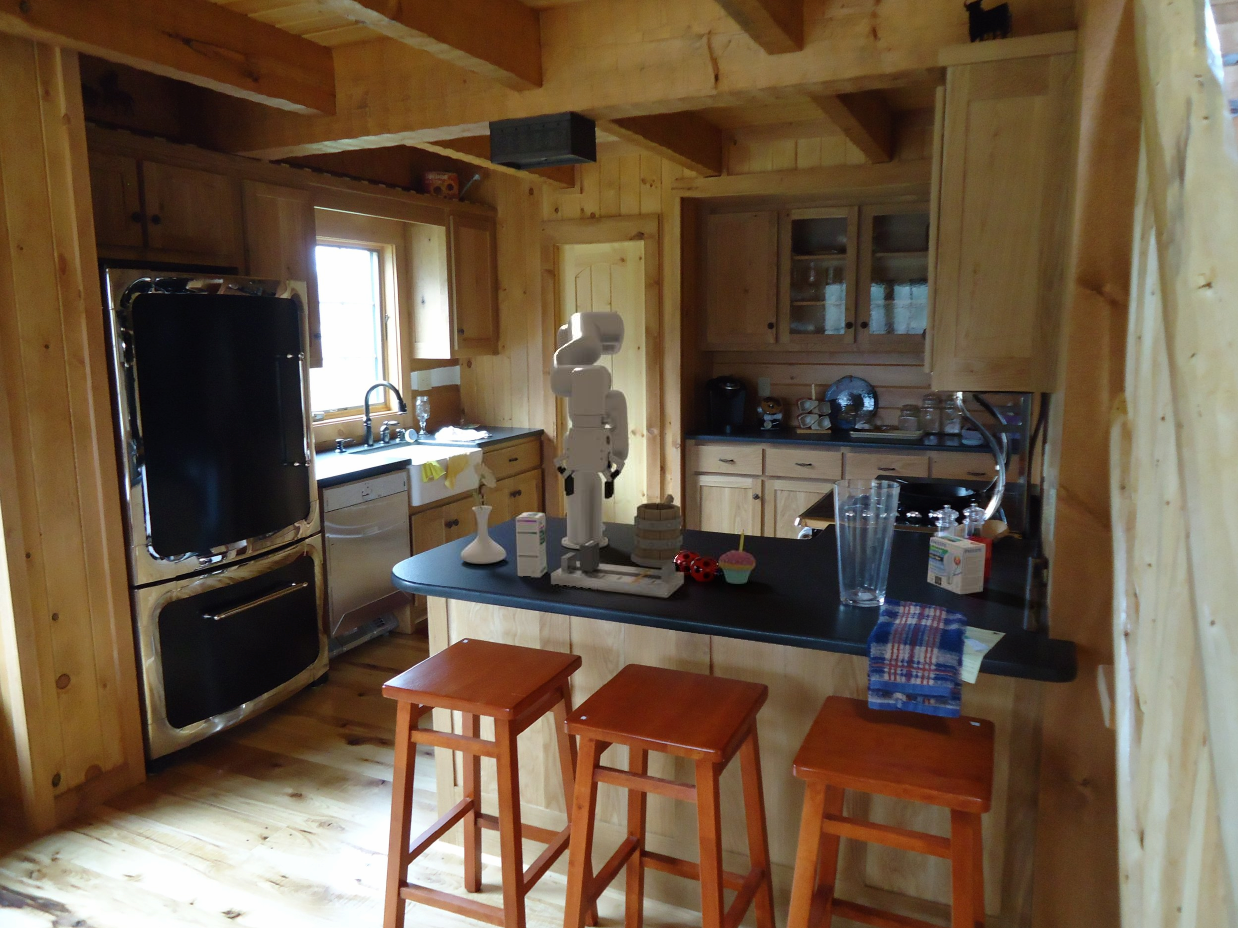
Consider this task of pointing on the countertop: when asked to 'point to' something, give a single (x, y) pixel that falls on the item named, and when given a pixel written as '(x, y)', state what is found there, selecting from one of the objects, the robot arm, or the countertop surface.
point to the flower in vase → (483, 527)
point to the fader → (589, 556)
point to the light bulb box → (956, 564)
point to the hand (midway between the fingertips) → (589, 496)
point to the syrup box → (531, 544)
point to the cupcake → (737, 564)
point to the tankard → (657, 533)
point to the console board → (619, 578)
